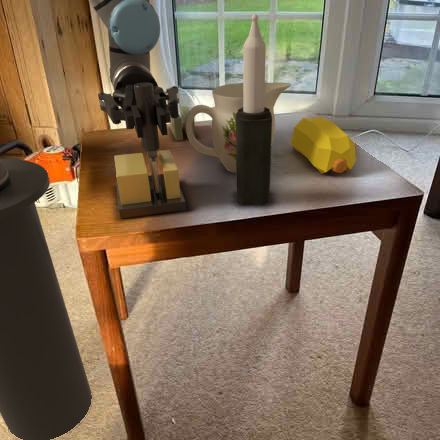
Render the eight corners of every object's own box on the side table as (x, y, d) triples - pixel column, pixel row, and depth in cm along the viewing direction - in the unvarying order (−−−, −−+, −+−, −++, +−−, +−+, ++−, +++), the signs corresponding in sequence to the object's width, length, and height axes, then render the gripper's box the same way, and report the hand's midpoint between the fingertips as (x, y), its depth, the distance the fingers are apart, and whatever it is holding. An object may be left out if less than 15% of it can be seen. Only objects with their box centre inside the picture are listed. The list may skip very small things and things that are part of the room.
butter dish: (116, 187, 77) (110, 152, 73) (174, 180, 78) (171, 146, 75) (120, 218, 67) (113, 180, 64) (186, 210, 69) (183, 172, 65)
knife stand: (170, 128, 103) (168, 107, 100) (188, 126, 104) (186, 106, 101) (176, 140, 96) (174, 118, 93) (195, 138, 97) (194, 116, 94)
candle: (269, 205, 70) (276, 15, 55) (236, 205, 70) (234, 17, 55) (267, 191, 74) (274, 11, 59) (236, 192, 74) (234, 13, 59)
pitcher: (189, 158, 87) (183, 81, 79) (281, 154, 87) (285, 77, 79) (188, 180, 78) (182, 96, 70) (291, 175, 79) (297, 91, 70)
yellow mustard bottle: (321, 143, 92) (285, 147, 91) (324, 108, 88) (287, 112, 87) (361, 176, 78) (319, 181, 76) (368, 136, 74) (324, 141, 72)
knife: (146, 179, 74) (132, 80, 65) (161, 177, 74) (150, 79, 65) (149, 194, 69) (135, 90, 60) (166, 192, 70) (154, 88, 61)
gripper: (181, 106, 83) (209, 147, 65) (94, 115, 80) (98, 160, 62) (177, 61, 79) (206, 91, 60) (85, 69, 76) (86, 102, 58)
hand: (151, 126), depth 61 cm, fingers closed on knife, 3 cm apart
